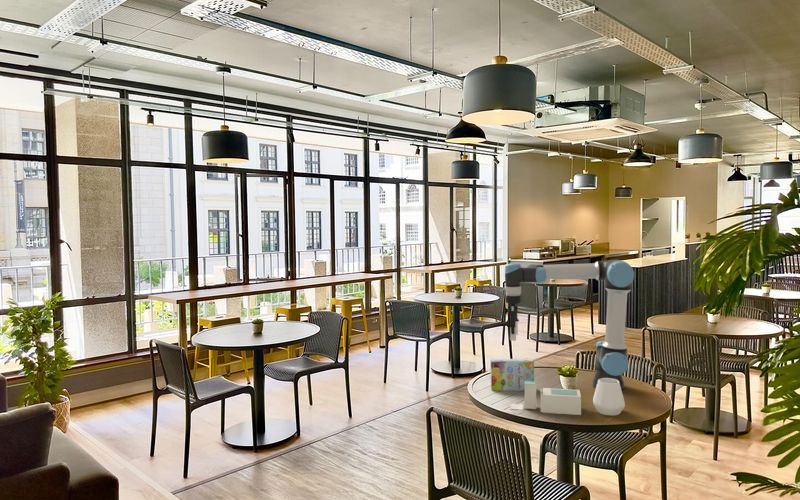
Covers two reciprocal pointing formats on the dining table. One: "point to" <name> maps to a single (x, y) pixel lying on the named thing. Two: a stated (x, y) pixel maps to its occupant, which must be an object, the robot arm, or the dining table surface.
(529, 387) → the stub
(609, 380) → the white vase
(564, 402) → the white tissue box
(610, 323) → the robot arm
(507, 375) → the snack box
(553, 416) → the dining table surface
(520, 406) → the pad
